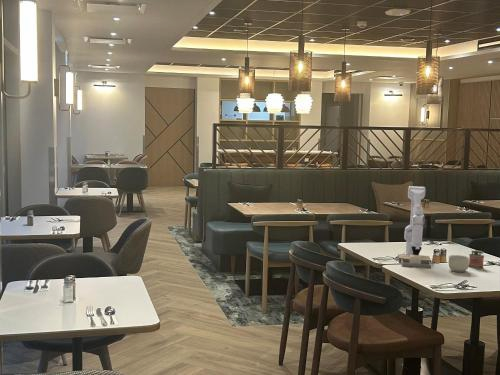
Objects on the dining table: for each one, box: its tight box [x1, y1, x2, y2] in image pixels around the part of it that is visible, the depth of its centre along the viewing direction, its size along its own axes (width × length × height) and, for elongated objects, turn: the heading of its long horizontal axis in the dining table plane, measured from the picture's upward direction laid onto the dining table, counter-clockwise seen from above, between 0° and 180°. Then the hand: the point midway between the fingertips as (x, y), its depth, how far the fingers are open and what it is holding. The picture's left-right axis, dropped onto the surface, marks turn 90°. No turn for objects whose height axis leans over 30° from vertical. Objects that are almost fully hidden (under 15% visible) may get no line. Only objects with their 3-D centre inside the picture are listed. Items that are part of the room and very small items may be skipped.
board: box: [397, 253, 432, 264], centre depth 356 cm, size 12×18×2 cm
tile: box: [410, 254, 422, 264], centre depth 346 cm, size 5×6×2 cm
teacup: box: [448, 254, 469, 273], centre depth 337 cm, size 14×11×8 cm
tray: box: [400, 259, 432, 269], centre depth 345 cm, size 10×16×2 cm, turn 80°
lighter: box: [468, 249, 485, 270], centre depth 345 cm, size 8×3×10 cm, turn 62°
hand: (415, 259), depth 348 cm, fingers closed
